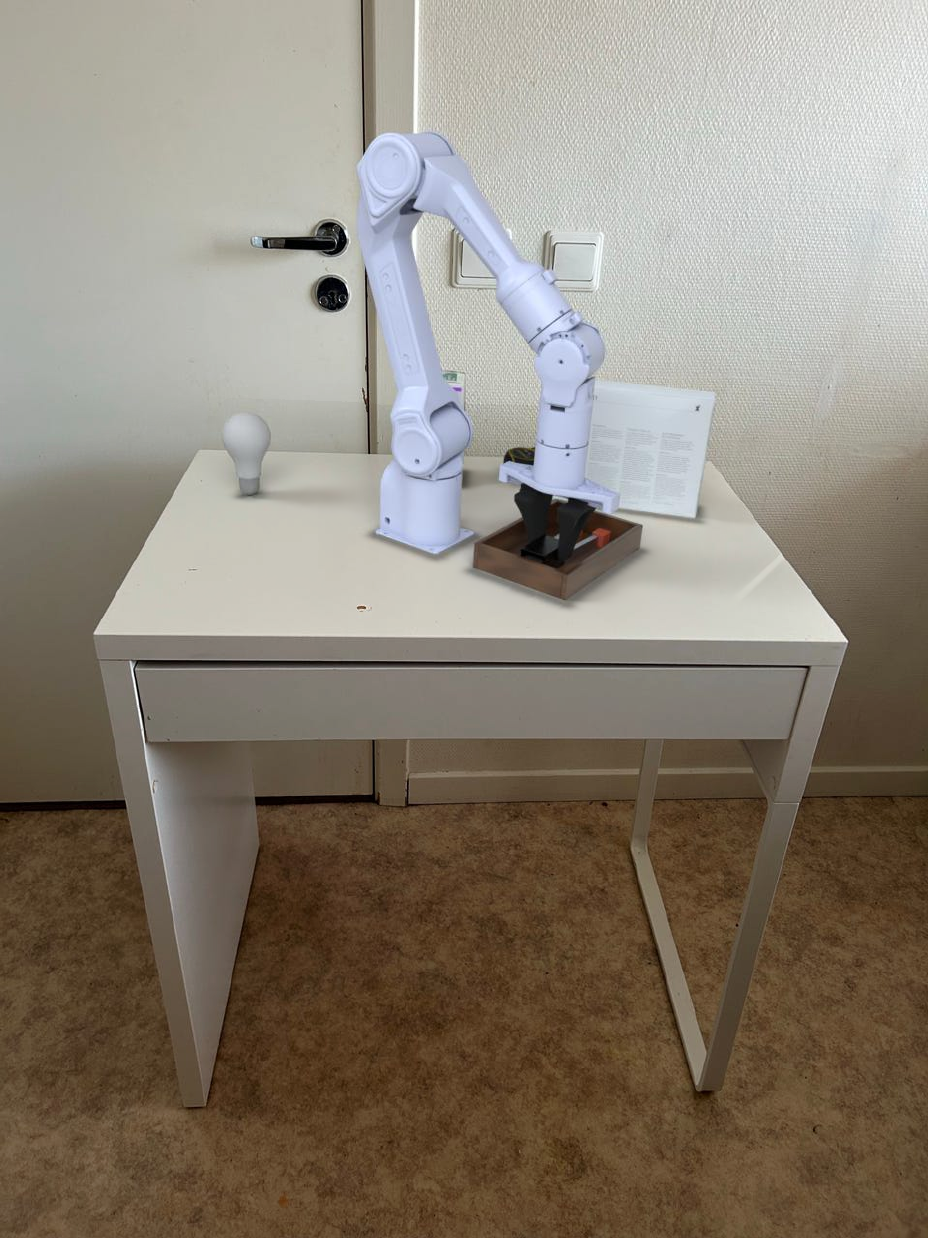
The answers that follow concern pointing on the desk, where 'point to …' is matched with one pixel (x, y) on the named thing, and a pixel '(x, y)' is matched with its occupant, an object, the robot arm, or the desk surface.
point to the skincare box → (650, 445)
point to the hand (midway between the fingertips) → (550, 553)
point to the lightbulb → (247, 447)
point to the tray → (505, 562)
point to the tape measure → (520, 455)
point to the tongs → (547, 548)
